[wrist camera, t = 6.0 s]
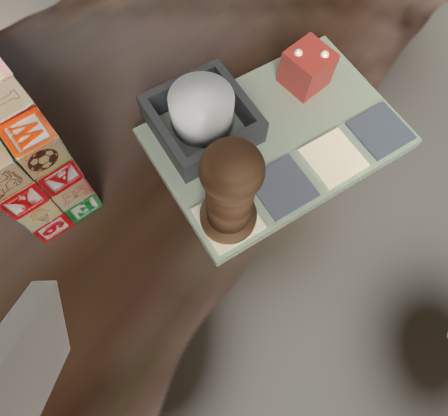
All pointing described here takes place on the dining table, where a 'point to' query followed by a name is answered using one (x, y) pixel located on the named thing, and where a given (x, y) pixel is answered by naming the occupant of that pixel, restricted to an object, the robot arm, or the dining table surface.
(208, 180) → the pawn
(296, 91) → the die
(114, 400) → the dining table surface
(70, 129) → the dining table surface
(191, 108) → the dome
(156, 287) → the dining table surface
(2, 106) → the stack of blocks
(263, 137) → the board
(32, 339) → the robot arm
